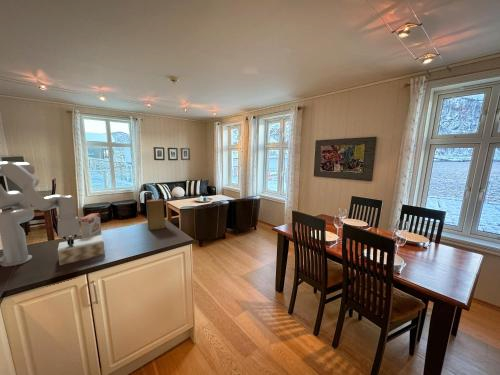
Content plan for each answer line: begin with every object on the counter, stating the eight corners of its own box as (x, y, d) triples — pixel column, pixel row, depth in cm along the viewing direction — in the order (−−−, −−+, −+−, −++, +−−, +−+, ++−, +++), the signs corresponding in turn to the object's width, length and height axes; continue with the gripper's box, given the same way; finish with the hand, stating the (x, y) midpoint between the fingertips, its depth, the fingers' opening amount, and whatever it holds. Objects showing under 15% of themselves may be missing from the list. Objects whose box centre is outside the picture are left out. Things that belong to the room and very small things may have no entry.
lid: (57, 252, 124) (57, 250, 124) (59, 244, 135) (59, 242, 134) (103, 242, 137) (103, 241, 137) (101, 236, 148) (101, 234, 148)
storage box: (59, 265, 125) (57, 252, 124) (60, 256, 136) (59, 244, 135) (104, 254, 139) (103, 243, 137) (102, 247, 149) (101, 236, 148)
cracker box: (91, 247, 149) (88, 218, 146) (82, 247, 148) (79, 218, 145) (102, 239, 163) (100, 212, 160) (94, 239, 162) (91, 213, 159)
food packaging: (163, 224, 198) (162, 198, 194) (165, 228, 190) (164, 200, 186) (147, 227, 191) (145, 199, 187) (148, 230, 183) (147, 201, 179)
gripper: (50, 220, 120) (54, 250, 123) (83, 215, 129) (86, 244, 132) (51, 216, 126) (54, 246, 129) (83, 212, 135) (86, 240, 138)
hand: (71, 245), depth 130 cm, fingers closed
